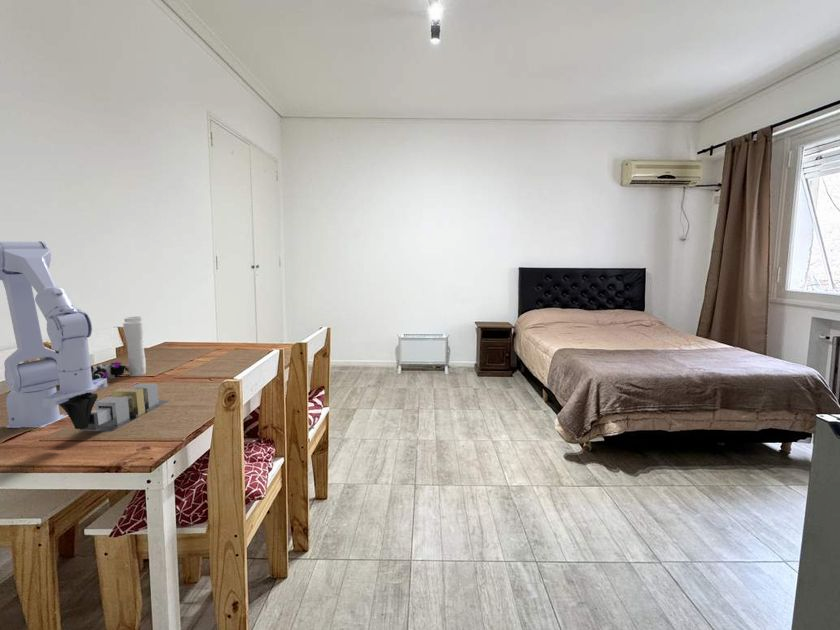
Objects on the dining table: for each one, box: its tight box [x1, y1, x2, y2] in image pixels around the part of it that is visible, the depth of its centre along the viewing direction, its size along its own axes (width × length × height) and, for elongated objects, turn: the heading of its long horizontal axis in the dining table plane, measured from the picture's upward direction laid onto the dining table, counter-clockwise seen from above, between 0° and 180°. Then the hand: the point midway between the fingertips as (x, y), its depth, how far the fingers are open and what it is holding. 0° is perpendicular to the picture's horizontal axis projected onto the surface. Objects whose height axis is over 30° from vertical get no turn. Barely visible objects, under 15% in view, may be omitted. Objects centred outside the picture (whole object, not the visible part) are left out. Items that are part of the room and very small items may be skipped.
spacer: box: [111, 387, 145, 417], centre depth 113 cm, size 6×2×6 cm, turn 85°
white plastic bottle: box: [122, 315, 147, 377], centre depth 156 cm, size 17×5×18 cm, turn 31°
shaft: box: [79, 391, 145, 431], centre depth 110 cm, size 4×19×4 cm, turn 175°
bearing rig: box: [82, 382, 169, 432], centre depth 113 cm, size 7×21×6 cm, turn 175°
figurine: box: [91, 361, 131, 381], centre depth 144 cm, size 24×7×29 cm
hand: (81, 427), depth 99 cm, fingers closed
